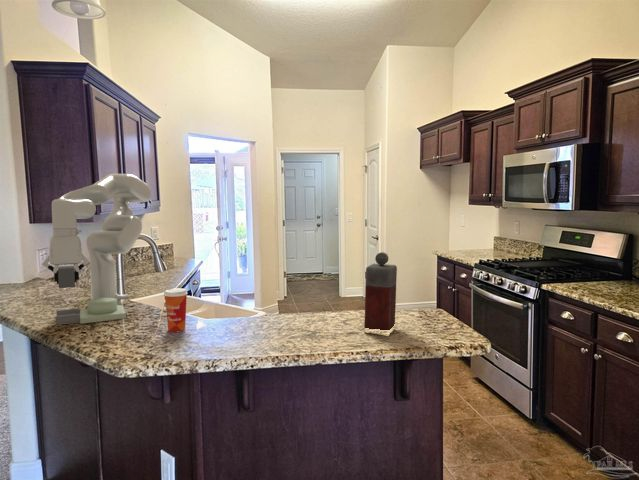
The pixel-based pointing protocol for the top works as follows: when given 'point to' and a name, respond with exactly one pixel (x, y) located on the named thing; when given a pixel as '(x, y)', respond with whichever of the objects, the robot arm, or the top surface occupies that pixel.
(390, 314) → the square decanter
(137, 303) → the top surface
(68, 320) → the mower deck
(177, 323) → the paper cup
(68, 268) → the grey rectangular block
